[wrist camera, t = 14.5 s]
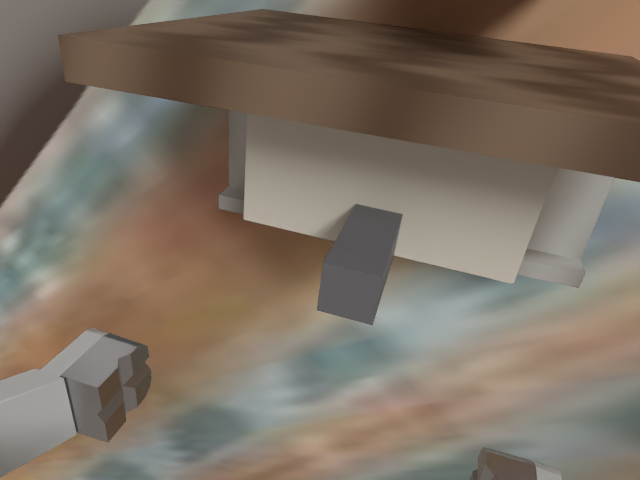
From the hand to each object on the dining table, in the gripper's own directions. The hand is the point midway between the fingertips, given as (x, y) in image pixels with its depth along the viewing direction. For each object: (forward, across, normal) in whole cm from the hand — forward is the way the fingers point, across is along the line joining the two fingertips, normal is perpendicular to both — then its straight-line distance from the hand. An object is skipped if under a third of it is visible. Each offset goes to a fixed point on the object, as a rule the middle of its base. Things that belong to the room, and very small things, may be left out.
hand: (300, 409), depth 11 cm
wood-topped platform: (+25, 0, 0) cm, 25 cm away
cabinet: (+20, 0, -1) cm, 20 cm away
